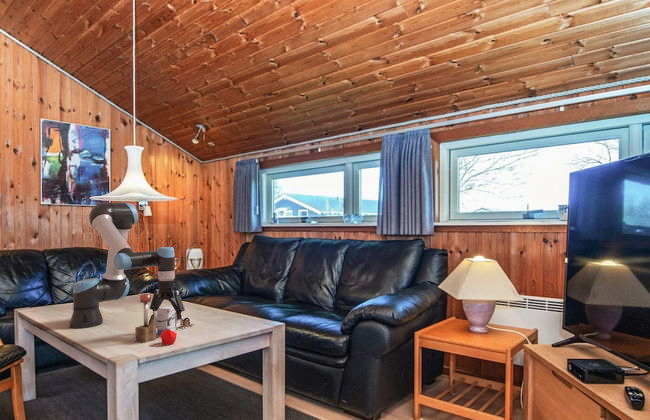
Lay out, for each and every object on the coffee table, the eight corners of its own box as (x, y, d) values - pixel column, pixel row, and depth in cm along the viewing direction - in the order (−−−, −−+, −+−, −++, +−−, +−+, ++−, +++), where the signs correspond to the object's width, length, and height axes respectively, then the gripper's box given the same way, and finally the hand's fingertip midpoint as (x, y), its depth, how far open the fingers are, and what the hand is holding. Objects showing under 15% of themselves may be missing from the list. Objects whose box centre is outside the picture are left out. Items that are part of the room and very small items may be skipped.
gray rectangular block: (174, 329, 202) (174, 328, 202) (188, 324, 212) (188, 323, 212) (180, 329, 201) (180, 329, 201) (194, 324, 210) (194, 324, 210)
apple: (179, 331, 176) (172, 322, 182) (162, 337, 172) (156, 327, 178) (180, 345, 179) (174, 334, 185) (164, 351, 175) (158, 340, 181)
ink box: (166, 335, 191) (165, 309, 191) (156, 335, 192) (156, 309, 192) (176, 330, 199) (176, 306, 200) (167, 330, 200) (167, 305, 201)
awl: (138, 329, 183) (137, 295, 184) (146, 327, 187) (145, 293, 188) (145, 330, 182) (145, 295, 182) (153, 327, 186) (152, 294, 186)
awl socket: (135, 341, 183) (135, 327, 183) (146, 337, 188) (146, 324, 188) (145, 342, 180) (145, 328, 180) (156, 338, 186) (156, 325, 186)
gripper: (141, 280, 198) (141, 325, 197) (180, 281, 188) (181, 329, 187) (153, 277, 205) (154, 321, 204) (192, 279, 195) (192, 325, 194)
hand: (167, 325), depth 196 cm, fingers open, 12 cm apart
